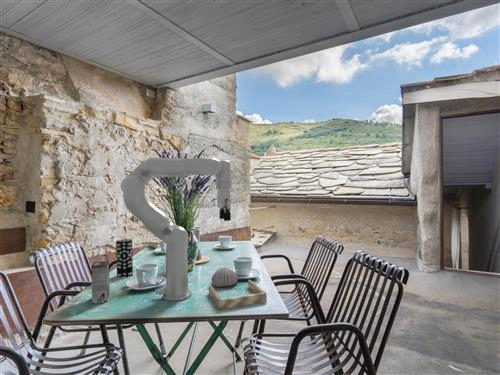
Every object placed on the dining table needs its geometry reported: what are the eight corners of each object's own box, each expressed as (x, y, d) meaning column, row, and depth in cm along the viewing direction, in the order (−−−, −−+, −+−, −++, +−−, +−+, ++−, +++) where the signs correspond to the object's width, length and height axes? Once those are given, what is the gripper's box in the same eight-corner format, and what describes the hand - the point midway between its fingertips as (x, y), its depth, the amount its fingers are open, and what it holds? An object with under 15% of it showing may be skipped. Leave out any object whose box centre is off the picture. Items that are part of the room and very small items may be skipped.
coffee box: (94, 297, 132) (93, 261, 132) (110, 294, 135) (109, 260, 135) (91, 304, 124) (90, 266, 124) (108, 301, 126) (107, 264, 126)
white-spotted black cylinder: (132, 276, 162) (132, 241, 162) (116, 278, 158) (115, 242, 158) (133, 272, 169) (132, 238, 169) (117, 274, 166) (116, 239, 166)
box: (219, 309, 115) (219, 300, 115) (209, 293, 133) (208, 285, 133) (266, 301, 122) (266, 293, 122) (250, 287, 140) (250, 279, 140)
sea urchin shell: (206, 286, 143) (205, 270, 143) (220, 278, 155) (220, 263, 155) (229, 290, 137) (228, 273, 137) (242, 281, 149) (242, 266, 149)
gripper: (212, 185, 151) (214, 218, 151) (219, 185, 135) (221, 222, 135) (226, 185, 153) (228, 217, 154) (235, 184, 137) (237, 221, 137)
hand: (225, 219), depth 144 cm, fingers open, 9 cm apart
